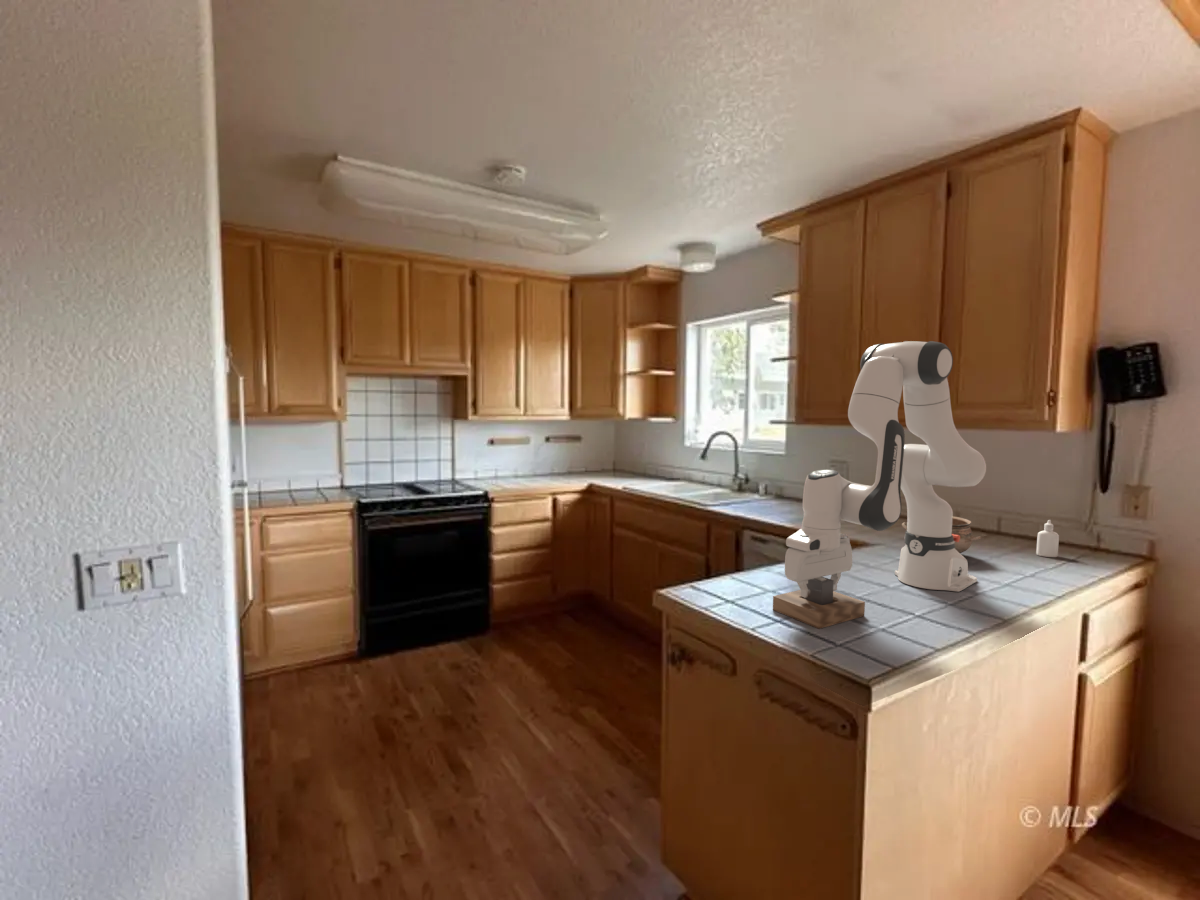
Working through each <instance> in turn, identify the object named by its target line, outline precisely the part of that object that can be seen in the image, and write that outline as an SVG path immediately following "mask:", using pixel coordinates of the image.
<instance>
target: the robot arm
mask: <svg viewBox="0 0 1200 900" xmlns="http://www.w3.org/2000/svg"><path fill="white" fill-rule="evenodd" d="M953 364H954V358H953V353H952V350H951V349H950V348H949V347H948V346H947V344H945V343H942V342H940V341H939V342H938V341H933V340H930V341H916V340H915V341H914V340H913V341H912V340H910V341H908V340H904V341H903V342H902V341H900V342H899V341H898V342H892V343H891V342H890V343H878V344H873V345H872V346H869V347H868V348H867V349H866V350H865V351H864V352H863V354H862V355H861V357H860V364H859V366H860V371H859V373H858V376H857V379H856V381H855V385H854V388H853V391H852V394H851V395H850V396H851V397H850V400H849V405H848V409H847V417H848V421H849V423H850V425H851V426H852V427H853V428H854V429H855V430H856V431H857V432H858V433H860V434H861V435H863V436H864V437H866V438H868V439H869V440H870V441H872V442H874V444H875V445H876V448H877V460H876V461H877V462H876V469H875V470H876V472H875V480H874V482H873V484H872V485H867V484H862V483H858V482H852V481H850V480H848V479H846V478H844V477H843V476H842V475H841V474H840V472H839V471H837V470H835V469H818V470H814V471H811V472H809V473H808V474H807V475H806V478H805V482H804V483H803V484H804V485H803V493H802V510H803V519H802V522H801V528H799V529H798V530H797V531H796V532H794V533H792V534H791V535H789V536H788V537H787V538H786V540H785V545H786V546H787V547H788V548H787V549H786V551H785V555H784V556H785V558H784V575H785V576H786V578H787V579H788V580H790V581H792V582H795V583H797V586H798V587H799V590H800V595H801V596H802V597H804V598H806V597H810V591H811V590H809V589H808V588H807V585H806V584H808V580H810V579H814V578H819V577H827V576H830V578H829V579H831V580H834V584H833V591H834V592H836V591H837V589H838V583H839V582H840V580H841V577H842V573H845V572H849V571H851V570H852V568H853V551H852V546H851V545H852V544H851V543H850V542H851V539H850V537H849V536H848V535H847V534H846V533H842V532H841V531H842V530H841V529H842V524H841V521H844V522H845V521H846V522H848V523H852V524H855V525H861V526H863V527H866V528H868V529H872V530H874V531H877V532H882V531H885V530H887V529H889V528H891V527H892V526H894V525H895V524H896V523H897V522H898V520H899V519H900V517H901V515H902V499H901V498H902V496H901V491H902V494H903V495H904V498H905V503H906V511H907V513H906V514H907V515H906V516H907V517H906V518H907V519H906V521H907V522H906V523H907V530H906V529H905V532H904V537H903V538H904V544H905V545H904V546H902V547H901V549H900V555H899V562H898V567H897V568H898V569H896V570H894V575H895V576H897V579H898V580H899V582H901V583H903V584H906V585H909V586H912V587H915V588H920V589H927V590H936V591H937V590H938V591H951V592H961V591H963V590H965V589H967V588H968V587H970V586H971V585H973V584H975V583H977V582H978V578H977V577H976V576H974V575H972V574H969V563H968V559H966V557H964V556H963V554H962V553H959V552H958V551H957V550H956V549H955V542H959V540H960V536H959V535H954V534H952V518H953V516H954V511H953V509H952V506H951V505H950V504H949V502H947V501H946V500H945V499H943V498H941V497H940V496H939V495H938V494H937V493H936V492H935V490H934V487H933V485H934V486H942V487H950V488H966V487H975V486H977V485H978V484H979V483H980V482H981V481H982V480H984V478H985V475H986V473H987V463H986V460H985V457H984V456H983V455H982V453H981V452H980V451H978V450H976V449H975V448H974V447H972V446H970V444H968V443H967V442H966V441H965V439H964V438H963V437H962V436H961V435H960V433H959V431H958V429H957V428H956V425H955V423H954V418H953V411H952V404H951V394H950V386H949V382H948V381H949V379H948V376H949V375H950V374H951V371H952V369H953ZM902 397H903V408H904V416H905V425H906V427H907V430H908V431H909V432H910V433H912V434H913V435H914V436H916V437H917V438H920V439H921V440H922V441H923V442H924V443H925V444H920V443H906V438H905V437H906V436H905V429H904V426H903V425H902V424H901V423H900V422H899V417H898V416H899V415H898V412H899V407H900V403H901V402H900V401H901V399H902ZM905 443H906V444H905ZM954 541H955V542H954Z"/></svg>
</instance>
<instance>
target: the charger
mask: <svg viewBox="0 0 1200 900" xmlns="http://www.w3.org/2000/svg"><path fill="white" fill-rule="evenodd" d="M833 584H834V580H831V579H830V578H827V577H826V576H823V577H819V578H814V579H810V580H808V584H806V585H807V588H808V589H809V590H811V591H810V597H806V598H805V599H806V600H808V601H811V602H814V603H817V604H819V605H826V604H829V603H833Z"/></svg>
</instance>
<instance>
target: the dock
mask: <svg viewBox="0 0 1200 900" xmlns="http://www.w3.org/2000/svg"><path fill="white" fill-rule="evenodd" d="M865 605H866V602H865V601H863V600H861V599H857V598H855V597H851V596H849V595H846V594H842V593H840V592H837V591H833V603H829V604H826V605H819V604H817V603H814V602H811V601H808V600H806V599H805V598H804V597H802V596H801V595H800V589H798V590H794V591H789V592H785V593H781V594H777V595H773V596H772V610H773V611H774V612H777V613H779V614H782V615H784V616H787V617H789V618H792V619H794V620H796V621H799V622H801V623H804V624H806V625H808V626H811V627H813V628H815V629H819V630H820V629H823V628H827V627H830V626H834V625H838V624H842V623H844V622H849V621H852V620H855V619H859V618H862V617H865V610H866V609H865V607H866V606H865Z"/></svg>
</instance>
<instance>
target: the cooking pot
mask: <svg viewBox="0 0 1200 900" xmlns="http://www.w3.org/2000/svg"><path fill="white" fill-rule="evenodd" d="M971 524H972V521H971V520H969V519H968V518H963V517H959V516H954V515H953V518H952V534H954V535H959V536H960V540H959V542H955V541H954V542H955V549H956V550H957V551H958V552H959V553H960V554H962V553H964V552H966V551H967V550H969V548H970V547H971V545H973V541H978V540H981V539H982V536H973V531H972V528H971V526H970V525H971ZM901 527H902V528H904V529H905V531H906V530H907V522H905V521H904V522H902V523H901Z"/></svg>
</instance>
